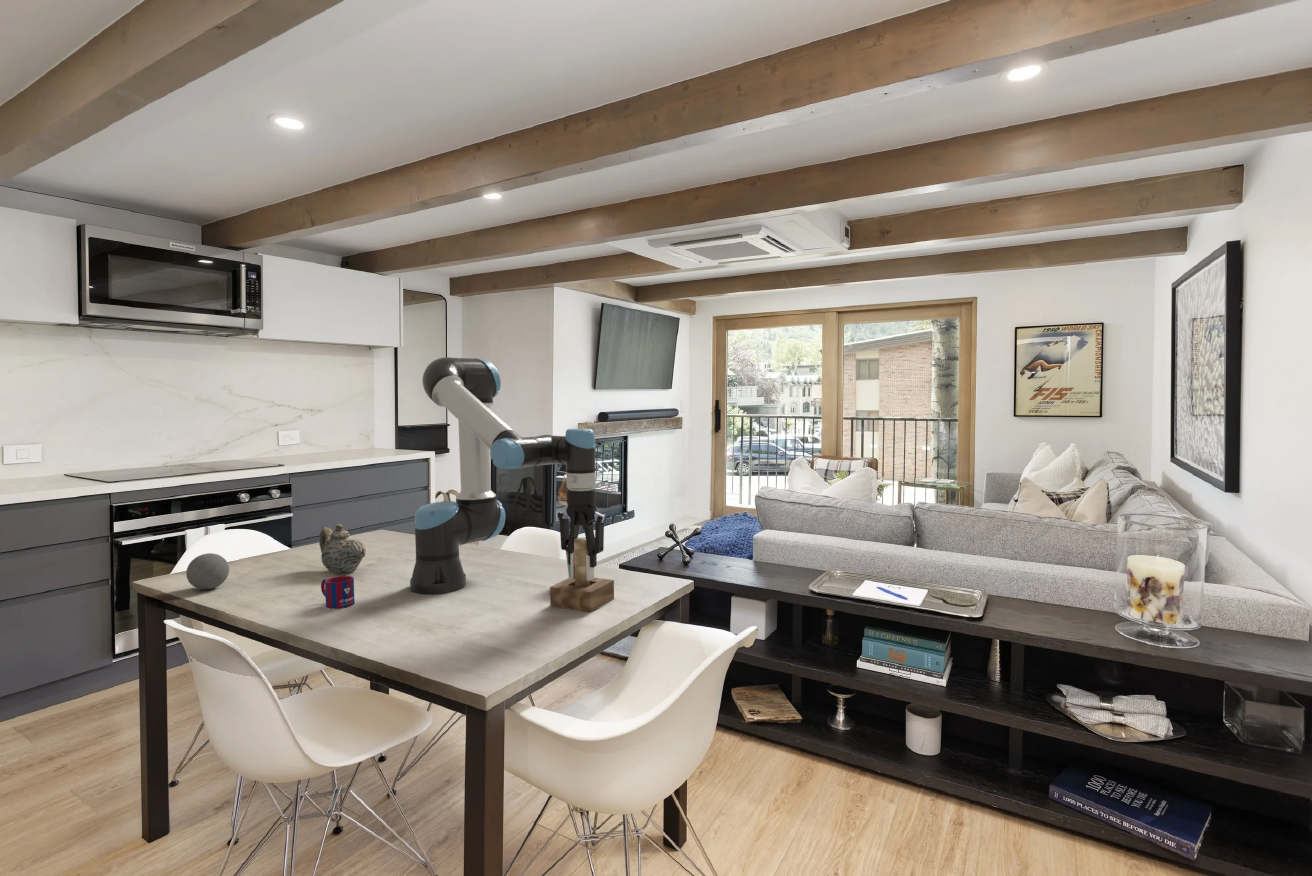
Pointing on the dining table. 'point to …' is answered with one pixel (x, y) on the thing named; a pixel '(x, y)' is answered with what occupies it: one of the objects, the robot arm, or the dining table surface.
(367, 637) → the dining table surface
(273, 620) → the dining table surface
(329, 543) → the teapot
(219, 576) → the decorative ball
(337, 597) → the cup
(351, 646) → the dining table surface
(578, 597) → the socket
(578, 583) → the peg
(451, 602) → the dining table surface
